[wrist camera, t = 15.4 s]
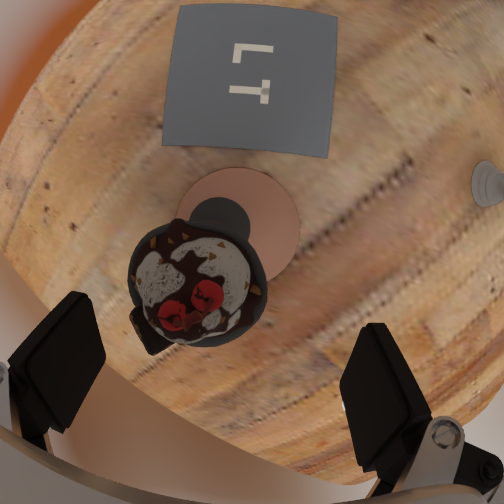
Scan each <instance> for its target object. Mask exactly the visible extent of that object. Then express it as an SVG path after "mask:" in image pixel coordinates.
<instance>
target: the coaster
mask: <svg viewBox="0 0 504 504" xmlns="http://www.w3.org/2000/svg"><path fill="white" fill-rule="evenodd" d="M214 197H224V198H227V199H230V200H233V201H235V202H236V203H238V204H239V205H240V206H241V207H242V208H243V209H244V210H245V212H246V213H247V215H248V218H249V220H250V236H249V239H248V242H249V243H250V244H251V246H252V247H253V248H254V249H255V251H256V253H257V255H258V257H259V259H260V261H261V263H262V266H263V269H264V271H265V274H266V279H267V281H269V280H270V279H272V278H274V277H275V276H277V275H278V274H279V273H280V272H281V271H282V270H283V269H284V268H285V267H286V266H287V265H288V263H289V262H290V261H291V259H292V257H293V255H294V254H295V251H296V249H297V246H298V242H299V236H300V221H299V216H298V212H297V210H296V207H295V205H294V203H293V201H292V199H291V197H290V196H289V194H288V193H287V192H286V190H285V189H284V188H283V187H282V186H281V185H280V184H279V183H278V182H277V181H275V180H274V179H273V178H271V177H270V176H268V175H266V174H264V173H262V172H260V171H256V170H253V169H249V168H239V167H233V168H225V169H221V170H218V171H215V172H213V173H210V174H208V175H207V176H205V177H203V178H202V179H200V180H199V181H198V182H196V183H195V184H194V185H193V186H192V187H191V188H190V189H189V190H188V191H187V193H186V194H185V196H184V197H183V199H182V201H181V203H180V205H179V208H178V210H177V214H176V218H181V219H183V220H185V221H189V218H190V215H191V213H192V211H193V210H194V209H195V207H196V206H197V205H198V204H199V203H201V202H203V201H204V200H207V199H209V198H214Z"/></svg>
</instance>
